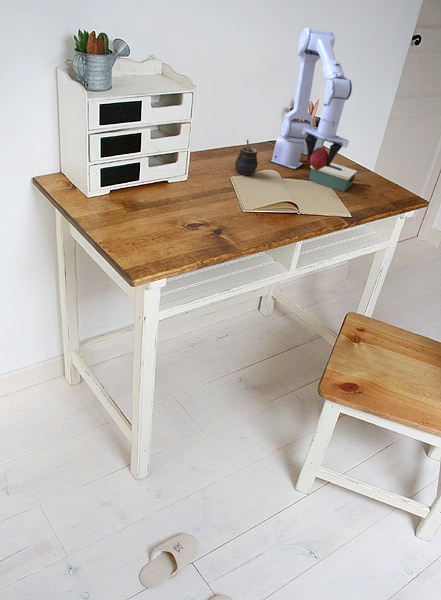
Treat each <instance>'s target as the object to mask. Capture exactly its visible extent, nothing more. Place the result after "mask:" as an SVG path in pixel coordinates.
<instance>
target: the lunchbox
mask: <svg viewBox="0 0 441 600" xmlns="http://www.w3.org/2000/svg"><path fill="white" fill-rule="evenodd" d="M309 168H310V172H309V175H308V179H307V180H308V181H311V182H315V183H317V184H320V185H322V186H325V187H329V188H331V189H333V190H337V191H339V192H342V193H344V192H345V191H347V190H348V189H349V188H351V186H353V184H354V183H353V182H354V180H355V178H356V175H357V173H358V170H355V169H353V168H349V167H346V166H344V165H340V164H337V163H335V162H331V164H330V166H328V167H326V166H325V167H323V168H321V169H319V170H315V169H314V168H313V166H312V165H311V164H310V167H309Z"/></svg>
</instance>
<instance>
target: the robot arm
mask: <svg viewBox="0 0 441 600" xmlns="http://www.w3.org/2000/svg"><path fill="white" fill-rule="evenodd" d="M335 43H336V36H335V33H334V32H333V30H332V31H331V30H329V31H328V30H327V31H326V30H323V29H315V28H310V27H305V28H304V29H303V30H302V32H301V33H300V36H299V41H298V47H297V48H298V49H297V55H298V57H300V63H299V71H298V77H297V83H296V91H295V96H294V104H293V109H291V110H290V111H289V112H287V113H286V114H284V117H283V121H282V123H281V127H280V134H281V135H279V136H278V137H277V139H276V141H275V145H274V149H273V154H272V157H271V160H270V162H272V163H275V164H277V165H280V166H283V167H287V168H289V169H293V170H296V169H298V168H299V167H301V166H302V165H303V162H301V157H302V154H303V151H304V145H305V144H306V149H307V151H306V152H307V159H306V160H307V161H308V162H310V157H311V154H312V153H313V152H314V151H315V148H316V144H317V141H318V140H322V141H325V142H328V143H331V145H330V146H329V152H328V155H329V156H328V160H327V163H326V167H328V166H330V164H331V163H333V160H334V158H335V156H336V155H337V154H338V152H339V151H340V150H341V149H342V148H344V149H346V148H347V147H348V145H349V143H350V140H348V139H346V138H343V137H341V136H339V135H337V132H338V131H337V130H338V128H339V124H340V120H341V117H342V113H343V110H344V107H345V103H346V101H347V100H350V97H351V96H352V92H353V82H352V80H351V79H350V78H348V77H346V75H345V73H344V71H343V68H342V65H341V62H340V61H339V60H337V59H336V57H335V52H334V46H335ZM318 60H321V62H322V64H323V66H322V68H321V72H322V76H323V79H324V82H325V86H324V95H323V96H324V97H323V103H324V104H323V106H322V111H321V115H320V119H319V123H318V127H317V129H315V128H314V118H313V116H312V115H311V114H310V113H309V105H310V99H311V93H312V88H313V81H314V74H315V68H316V63H317V62H318Z"/></svg>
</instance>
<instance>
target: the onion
mask: <svg viewBox="0 0 441 600" xmlns="http://www.w3.org/2000/svg"><path fill="white" fill-rule="evenodd" d="M328 156H329V152H328V151H327V150H326V146H325V145H321V146H320V147H318V148H316V149H314V152H313V153H312V154H311V157H310V161H309V162H310V166H311V165H312V166H313V168H314V169H315V170H319V169H321V168H323V167H325V166H326V163H327V160H328Z"/></svg>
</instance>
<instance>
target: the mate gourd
mask: <svg viewBox="0 0 441 600" xmlns="http://www.w3.org/2000/svg"><path fill="white" fill-rule="evenodd" d="M249 144H250V143H249V139H246V146H242V147H240V150H239V154H238V156H237V157H236V159H235V163H234V165H235V170H236V172H237V173H238V174H240V175H243V176H251V175H252V174H254V173H255V172H256V170H257V168H258V150H257V149H256V148H253V147H251V146H250V145H249Z"/></svg>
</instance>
